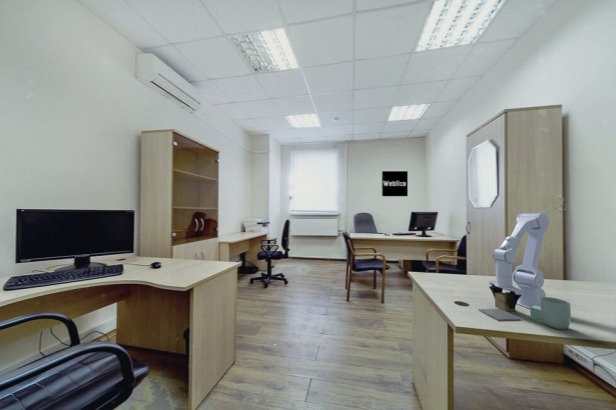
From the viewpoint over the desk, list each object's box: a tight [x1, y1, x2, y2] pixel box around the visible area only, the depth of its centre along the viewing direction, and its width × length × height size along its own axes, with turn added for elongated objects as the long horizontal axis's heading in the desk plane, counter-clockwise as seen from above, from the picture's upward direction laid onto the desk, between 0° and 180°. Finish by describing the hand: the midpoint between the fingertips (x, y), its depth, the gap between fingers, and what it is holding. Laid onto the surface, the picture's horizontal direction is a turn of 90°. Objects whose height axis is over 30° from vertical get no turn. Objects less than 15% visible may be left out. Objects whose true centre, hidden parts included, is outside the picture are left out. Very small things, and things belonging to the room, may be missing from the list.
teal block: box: [529, 306, 543, 321], centre depth 97 cm, size 4×4×4 cm
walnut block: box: [494, 292, 516, 312], centre depth 106 cm, size 5×5×6 cm
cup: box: [541, 296, 572, 330], centre depth 89 cm, size 8×8×10 cm
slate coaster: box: [478, 308, 522, 322], centre depth 100 cm, size 10×10×1 cm
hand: (505, 305), depth 106 cm, fingers open, 6 cm apart
